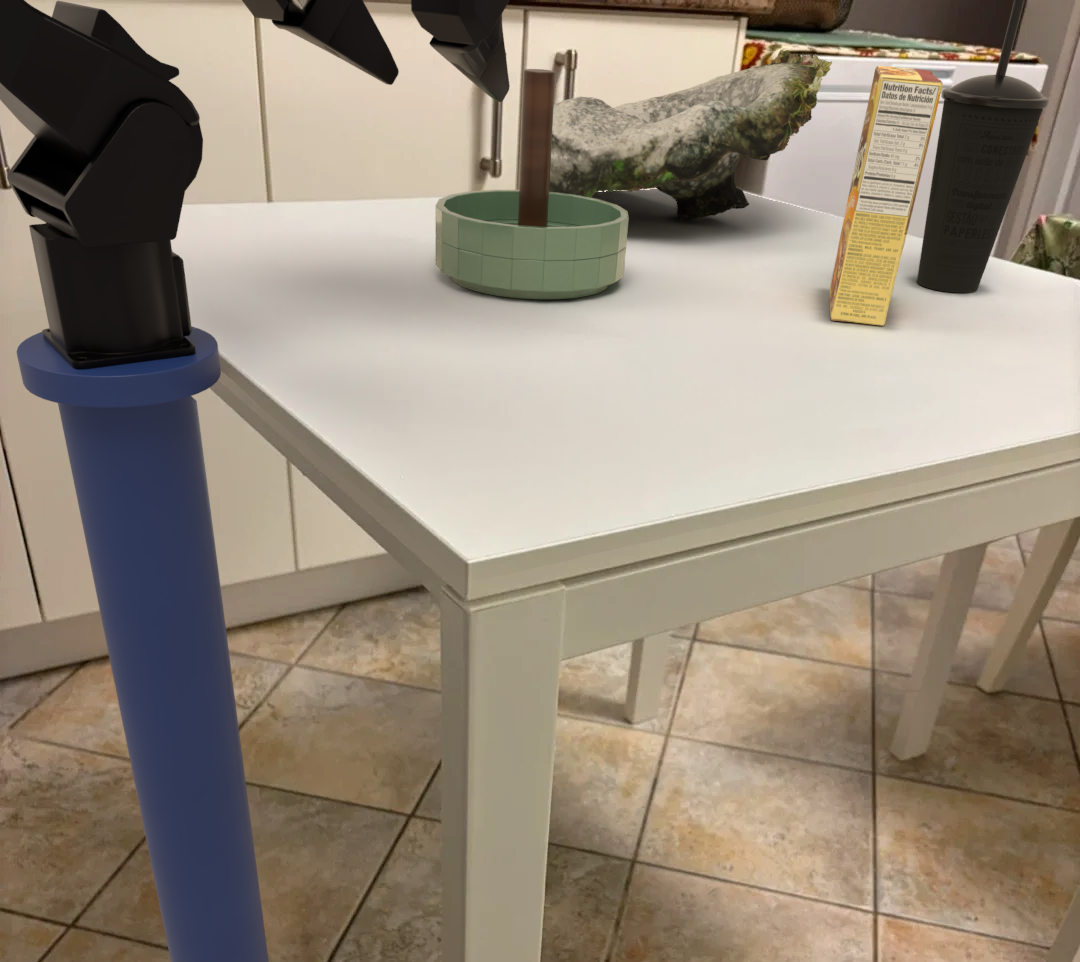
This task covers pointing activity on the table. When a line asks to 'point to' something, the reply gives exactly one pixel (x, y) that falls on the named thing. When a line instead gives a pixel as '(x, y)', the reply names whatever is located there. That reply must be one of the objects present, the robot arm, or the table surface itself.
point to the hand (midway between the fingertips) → (446, 86)
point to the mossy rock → (685, 135)
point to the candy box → (883, 192)
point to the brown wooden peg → (536, 146)
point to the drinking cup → (976, 170)
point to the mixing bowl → (530, 245)
